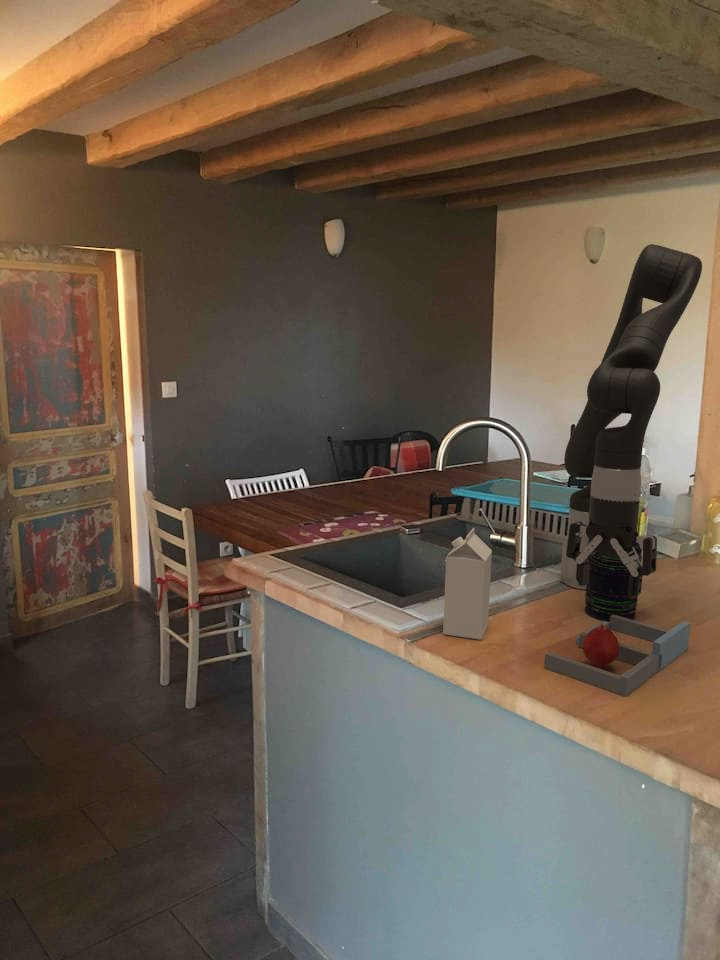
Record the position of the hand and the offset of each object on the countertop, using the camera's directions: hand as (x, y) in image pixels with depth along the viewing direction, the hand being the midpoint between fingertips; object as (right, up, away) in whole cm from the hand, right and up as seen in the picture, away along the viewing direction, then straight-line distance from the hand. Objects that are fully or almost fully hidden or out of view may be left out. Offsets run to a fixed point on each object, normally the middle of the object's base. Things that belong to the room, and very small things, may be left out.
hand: (607, 591), depth 126 cm
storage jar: (+9, -9, +27) cm, 30 cm away
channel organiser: (+4, -12, +7) cm, 15 cm away
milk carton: (-21, -10, +17) cm, 29 cm away
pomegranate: (0, -13, +3) cm, 14 cm away
